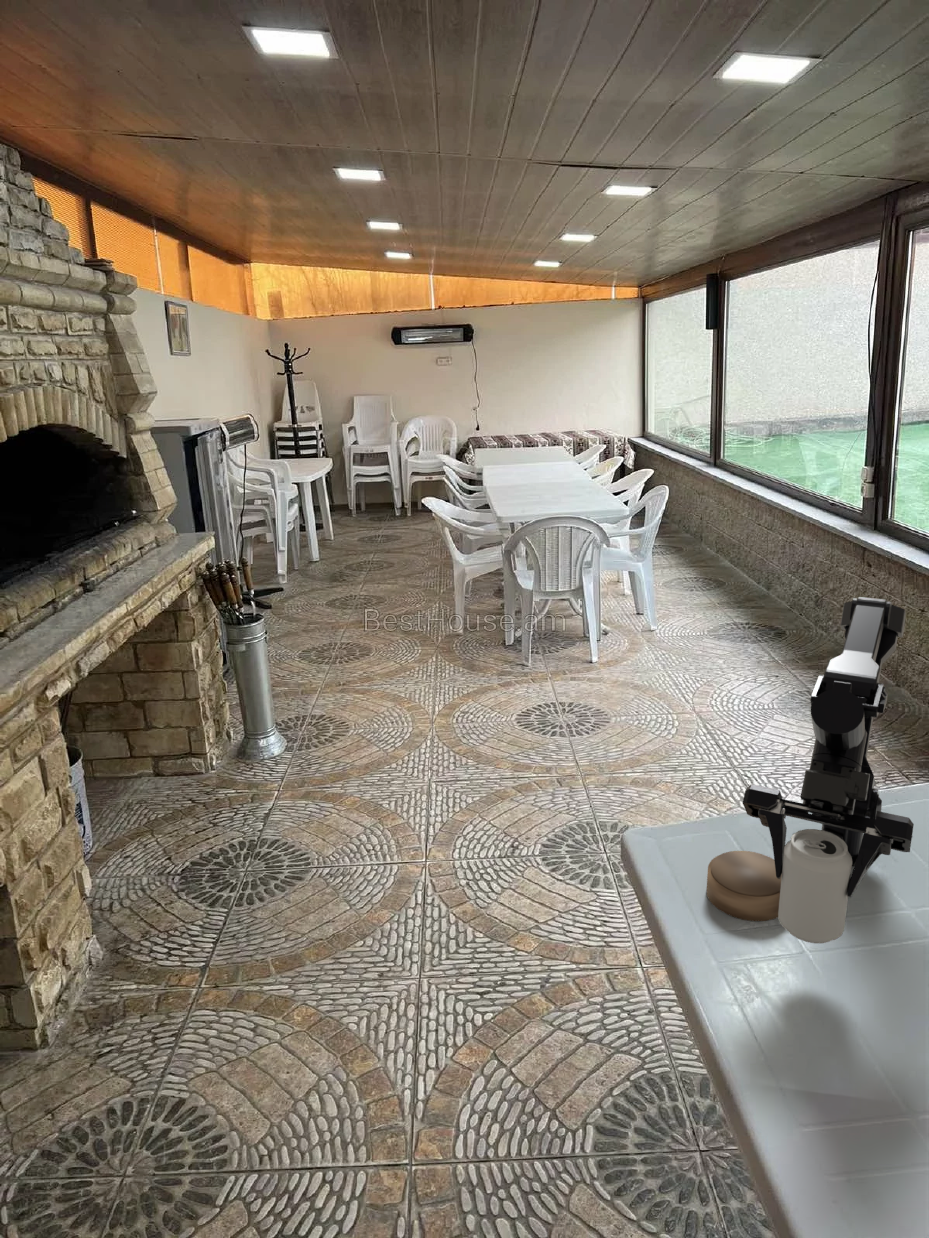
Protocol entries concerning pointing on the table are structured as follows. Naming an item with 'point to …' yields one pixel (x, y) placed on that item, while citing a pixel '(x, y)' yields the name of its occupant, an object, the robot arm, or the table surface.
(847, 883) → the can
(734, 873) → the brown wooden disc
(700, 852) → the table surface
